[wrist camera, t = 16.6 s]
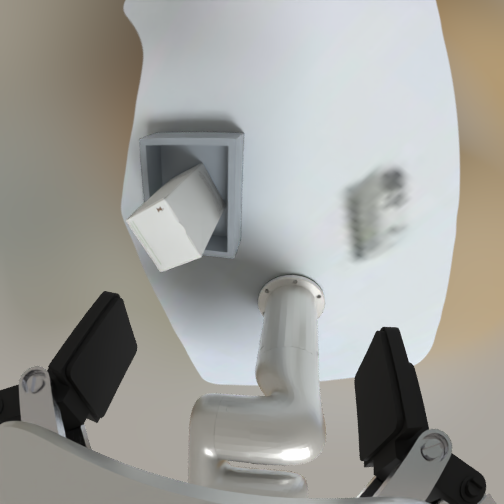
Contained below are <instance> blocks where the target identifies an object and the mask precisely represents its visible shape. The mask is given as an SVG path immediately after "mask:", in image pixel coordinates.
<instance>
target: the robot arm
mask: <svg viewBox="0 0 504 504" xmlns="http://www.w3.org/2000/svg"><path fill="white" fill-rule="evenodd" d="M258 307H259V310H260V312H261V314H262V315H263V317H264V319H263V325H262V332H261V338H260V344H259V350H258V356H257V362H256V368H255V375H256V380H257V383H258V385H259V387H260V389H261V391H262V392H263V393H264V395H265V396H244V395H231V394H217V393H211V394H205V395H203V396H201V397H200V398H199V399H198V400H197V401H196V402H195V404H194V406H193V409H192V413H191V417H190V426H189V453H188V483H186V482H181V481H178V480H174V479H171V478H167V477H164V476H160V475H157V474H154V473H151V472H147V471H144V470H142V469H139V468H136V467H132V466H130V465H127V464H124V463H122V462H119V461H117V460H114V459H112V458H109V457H107V456H105V455H102V454H100V453H98V452H95V451H93V450H92V449H91V446H90V443H89V440H88V436H87V433H86V429H85V425H84V422H85V420H86V418H87V419H90V420H92V421H94V422H96V423H97V422H98V421H99V419H100V418H102V417H103V416H104V415H105V413H106V411H107V409H108V407H109V405H110V403H111V401H112V399H113V397H114V395H115V393H116V391H117V389H118V387H119V385H120V383H121V381H122V379H123V377H124V375H125V373H126V371H127V369H128V367H129V365H130V363H131V361H132V360H133V358H134V356H135V354H136V351H137V344H136V340H135V338H134V334H133V331H132V328H131V325H130V322H129V318H128V315H127V312H126V309H125V305H124V301H123V299H122V298H120V296H119V294H116V293H112V292H107V291H104V292H103V293H102V294H101V295H100V296H99V298H98V299H97V300H96V302H95V303H94V304H93V305H92V307H91V308H90V309H89V310H88V312H87V313H86V314H85V316H84V317H83V318H82V320H81V321H80V322H79V324H78V325H77V326H76V328H75V329H74V330H73V332H72V333H71V335H70V336H69V337H68V339H67V340H66V341H65V343H64V344H63V346H62V347H61V349H60V350H59V351H58V353H57V354H56V356H55V357H54V359H53V360H52V362H51V363H50V365H49V366H48V367H49V369H48V370H47V371H46V369H44V368H43V367H39V366H35V367H31V368H29V369H28V370H26V371H25V372H24V373H23V374H22V375H21V378H20V380H19V385H16V386H13V387H10V388H6V389H3V390H0V504H496V503H495V501H494V500H493V498H492V497H491V495H490V494H487V495H486V494H485V491H486V482H485V479H484V477H483V476H482V475H481V474H480V473H479V472H478V471H476V470H475V469H473V468H472V467H470V466H469V465H468V464H466V463H465V462H463V461H462V460H461V459H459V458H458V457H456V456H455V455H453V454H452V443H451V440H450V438H449V437H448V435H447V434H446V433H444V432H443V431H441V430H438V429H430V430H429V427H428V422H427V417H426V413H425V408H424V404H423V399H422V395H421V391H420V387H419V383H418V379H417V375H416V372H415V368H414V366H413V365H412V363H409V361H408V358H407V354H406V351H405V347H404V344H403V340H402V337H401V334H400V331H399V329H398V328H396V327H382V328H381V330H380V331H376V333H375V335H374V338H373V340H372V342H371V344H370V346H369V349H368V351H367V353H366V355H365V357H364V359H363V361H362V363H361V365H360V367H359V369H358V371H357V373H356V376H355V393H356V404H357V417H358V433H359V452H360V460H361V461H364V467H374V475H375V476H374V477H373V478H372V479H371V481H370V482H369V483H368V484H367V485H366V487H365V488H364V489H363V490H362V491H361V492H360V494H359V495H358V496H357V497H356V498H341V499H340V498H339V499H308V486H307V482H306V480H305V478H304V477H303V476H302V475H300V474H298V473H295V472H291V471H283V470H271V469H257V468H246V467H237V466H232V465H231V464H230V463H229V462H228V461H236V462H246V463H252V464H263V465H282V466H286V465H297V464H303V463H307V462H309V461H311V460H313V459H315V458H316V457H317V456H318V455H319V454H320V453H321V452H322V450H323V448H324V445H325V441H326V426H325V420H324V414H323V409H322V404H321V397H320V385H319V347H318V320H317V319H318V318H319V317H320V316H321V314H322V313H323V310H324V307H325V298H324V294H323V292H322V290H321V288H320V287H319V286H318V285H317V284H316V283H315V282H313V281H312V280H310V279H308V278H305V277H302V276H297V275H285V276H280V277H277V278H274V279H273V280H271V281H269V282H268V283H267V284H266V285H265V286H264V287H263V288H262V289H261V292H260V294H259V298H258Z"/></svg>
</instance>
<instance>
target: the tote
mask: <svg viewBox="0 0 504 504" xmlns="http://www.w3.org/2000/svg"><path fill="white" fill-rule="evenodd" d="M139 141H140V158H141V171H142V183H143V193H144V203H145V202H146V201H147V200H148V199H149V198H150V197H151V196H152V195H153V194H154V193H156V192H157V191H158V190H159V189H160V188H161V187H162V186H164V185H165V184H166V183H167V182H168V181H169V180H170V179H172V178H174V177H175V176H177V175H179V174H181V173H183V172H185V171H186V170H188V169H190V168H192V167H194V166H196V165H198V164H200V163H202V164H203V165H204V167H205V168H206V170H207V172H208V174H209V176H210V177H211V179H212V181H213V183H214V185H215V186H216V188H217V190H218V192H219V194H220V196H221V197H222V199H223V201H224V203H225V205H226V207H225V209H224V211H223V213H222V215H221V217H220V219H219V221H218V223H217V225H216V227H215V229H214V231H213V233H212V235H211V237H210V239H209V242H208V244H207V246H206V248H205V250H204V252H203V254H202V255H205V256H214V257H223V258H232V259H234V257H235V255H236V252H237V249H238V246H239V244H240V241H241V213H242V180H243V150H244V133H231V132H159V133H155V134H152V135H149V136H146V137H143V138H141V139H139Z"/></svg>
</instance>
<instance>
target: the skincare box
mask: <svg viewBox="0 0 504 504" xmlns="http://www.w3.org/2000/svg"><path fill="white" fill-rule="evenodd" d="M225 207H226V205H225V203H224V201H223V199H222V197H221V196H220V194H219V192H218V190H217V188H216V186H215V185H214V183H213V181H212V179H211V177H210V176H209V174H208V172H207V170H206V168H205V167H204V165H203V164H202V163H200V164H198V165H196V166H194V167H192V168H190V169H188V170H186V171H185V172H183V173H181V174H179V175H177V176H175V177H174V178H172V179H170V180H169V181H168V182H167V183H166V184H165V185H164V186H162V187H161V188H160V189H159V190H158V191H157V192H156V193H154V194H153V195H152V196H151V197H150V198H149V199H148V200H147V201H146V202H145V203H144V204H142V205H141V206H140V207H139V208H138V209H137V210H136V211H135V212H134V213H133V214H132V215H131V216H130V217H129V218H128V219H127V220H126V222H127V223H128V225H129V226H130V228H131V229H132V231H133V232H134V234H135V236H136V237H137V239H138V240H139V242H140V243H141V245H142V246H143V247H144V249H145V250H146V252H147V253H148V255H149V256H150V258H151V259H152V261H153V262H154V264H155V265H156V266H157V268H158V269H159V271H160V272H163V271H166V270H169V269H172V268H174V267H177V266H180V265H182V264H185V263H188V262H190V261H193V260H196V259H198V258H201V257H202V254H203V252H204V250H205V248H206V246H207V244H208V242H209V239H210V237H211V235H212V233H213V231H214V229H215V227H216V225H217V223H218V221H219V219H220V217H221V215H222V213H223V211H224V209H225Z"/></svg>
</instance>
